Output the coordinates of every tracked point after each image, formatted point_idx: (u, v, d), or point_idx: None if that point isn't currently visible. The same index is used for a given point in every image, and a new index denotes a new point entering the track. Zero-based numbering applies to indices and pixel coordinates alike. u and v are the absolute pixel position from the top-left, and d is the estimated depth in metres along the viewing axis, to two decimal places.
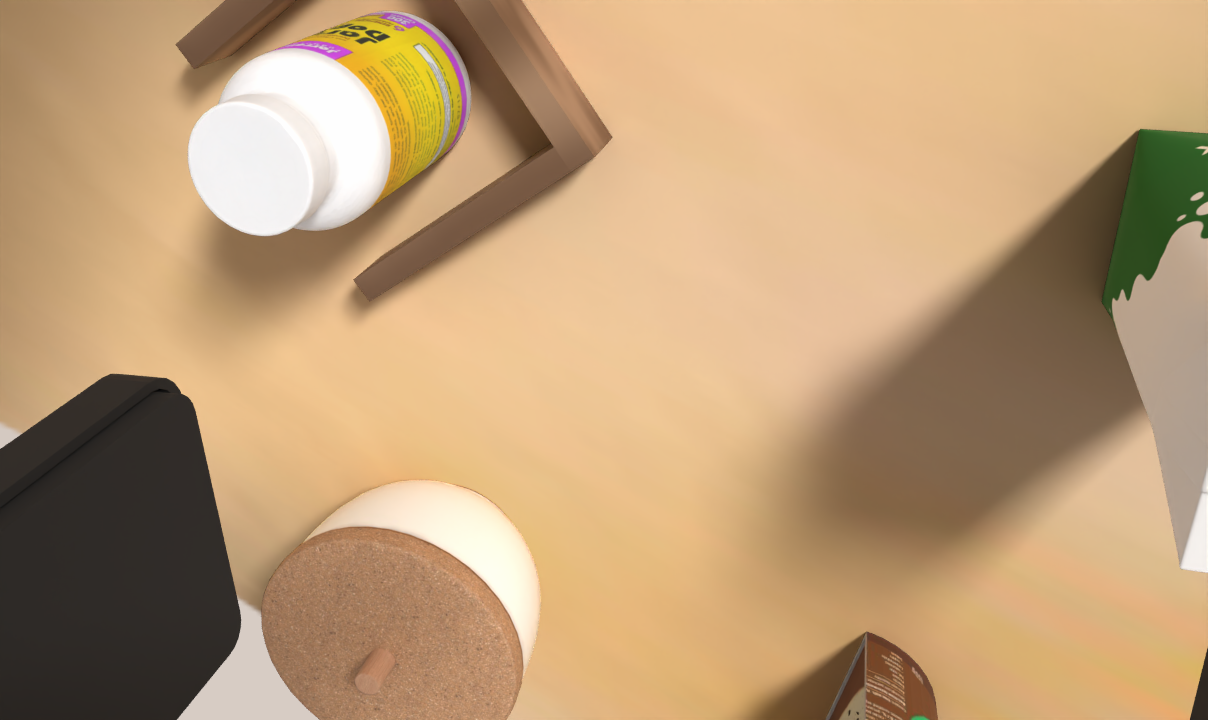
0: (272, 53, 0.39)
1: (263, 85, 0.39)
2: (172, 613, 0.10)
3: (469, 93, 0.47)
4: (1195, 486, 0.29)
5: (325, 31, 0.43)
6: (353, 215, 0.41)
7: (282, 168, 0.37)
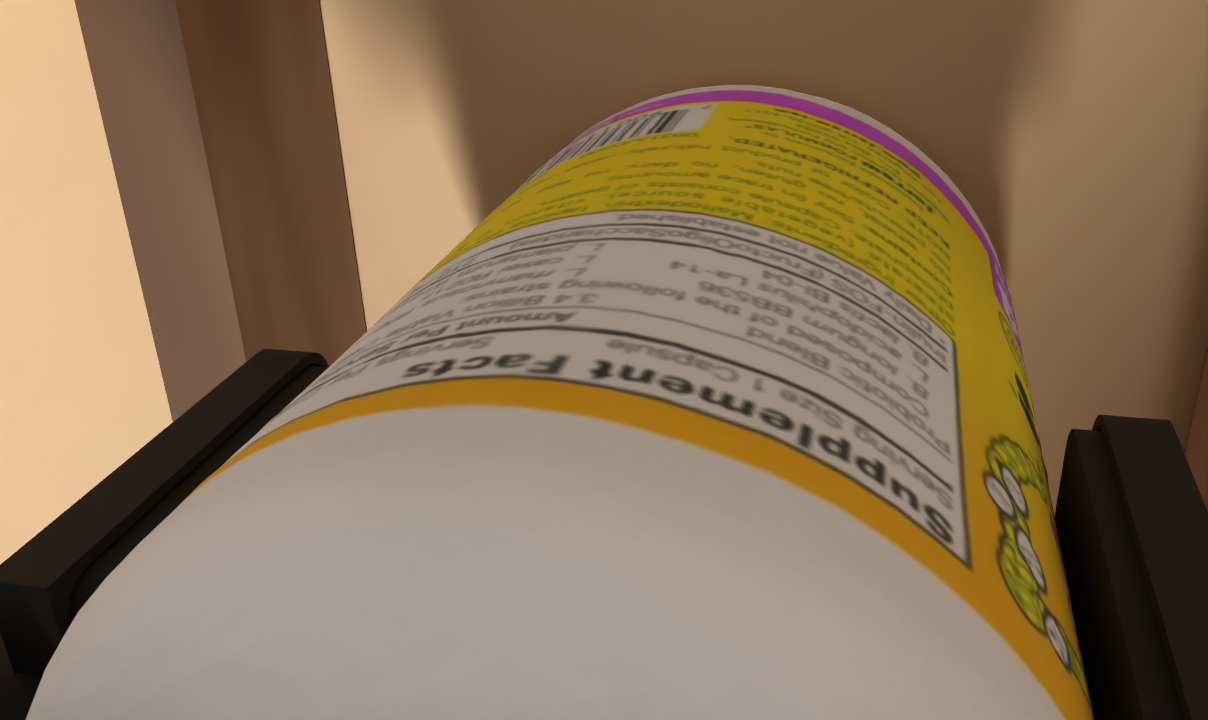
0: None
1: None
2: None
3: None
4: None
5: None
6: None
7: None
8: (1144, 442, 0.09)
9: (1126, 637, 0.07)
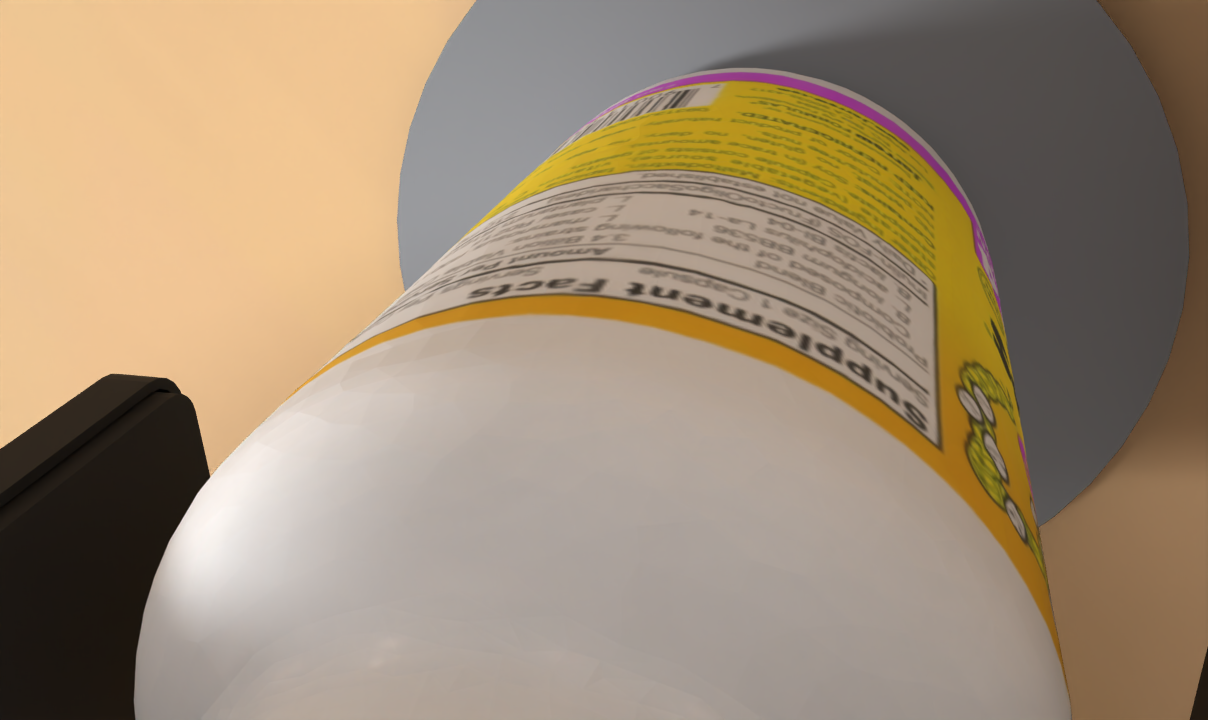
0: None
1: None
2: None
3: None
4: None
5: None
6: None
7: None
8: None
9: None
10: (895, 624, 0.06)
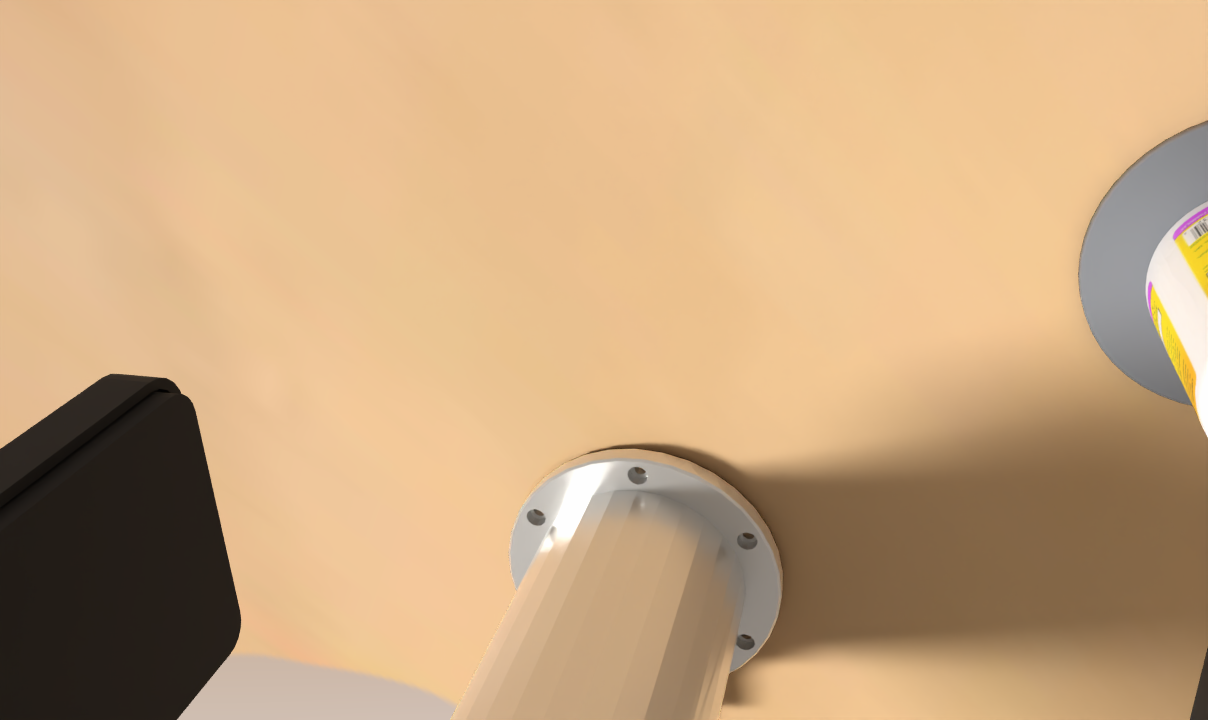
0: None
1: None
2: (172, 613, 0.10)
3: None
4: None
5: None
6: None
7: None
8: None
9: None
10: None
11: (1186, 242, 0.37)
